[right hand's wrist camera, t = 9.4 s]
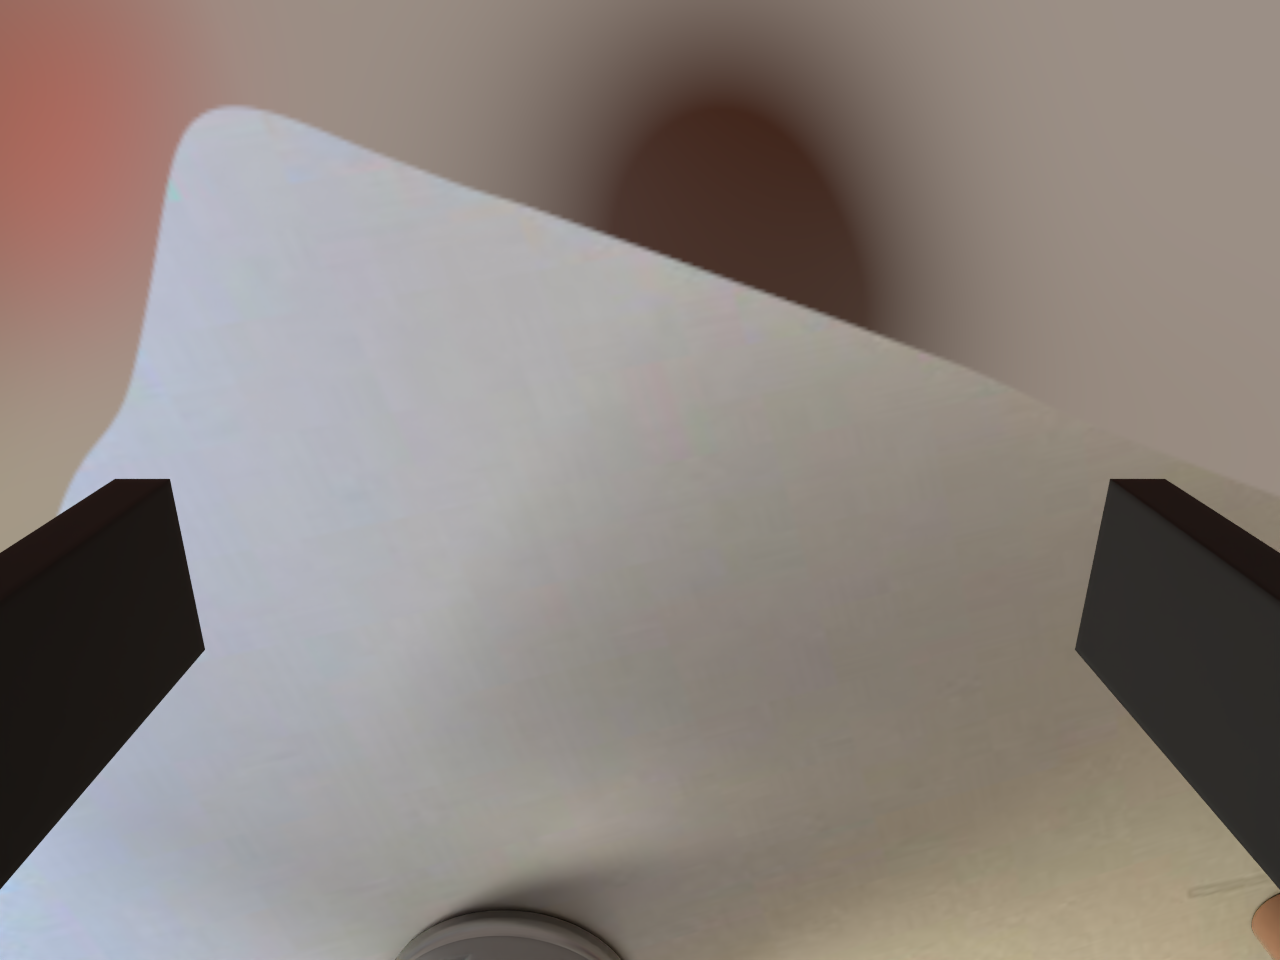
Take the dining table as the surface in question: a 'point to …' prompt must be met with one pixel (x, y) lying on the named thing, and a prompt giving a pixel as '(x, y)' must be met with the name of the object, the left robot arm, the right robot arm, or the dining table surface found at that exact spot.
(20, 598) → the right robot arm
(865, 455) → the dining table surface
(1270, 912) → the tan tall cylinder
